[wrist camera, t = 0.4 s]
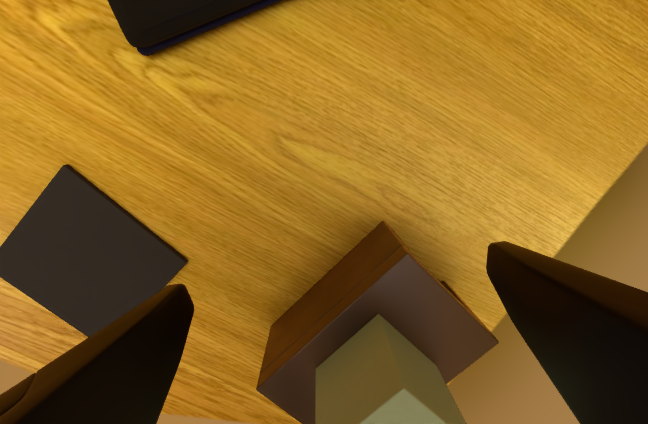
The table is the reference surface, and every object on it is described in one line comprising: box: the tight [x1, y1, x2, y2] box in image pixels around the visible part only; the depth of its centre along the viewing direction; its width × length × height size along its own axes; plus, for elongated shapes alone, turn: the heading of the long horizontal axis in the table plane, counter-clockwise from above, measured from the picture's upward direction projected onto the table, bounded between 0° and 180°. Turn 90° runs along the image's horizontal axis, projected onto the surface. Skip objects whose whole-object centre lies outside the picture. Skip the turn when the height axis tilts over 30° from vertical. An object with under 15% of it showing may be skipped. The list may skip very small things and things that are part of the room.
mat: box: [0, 165, 188, 337], centre depth 21 cm, size 10×10×1 cm
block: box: [315, 314, 466, 424], centre depth 15 cm, size 5×5×5 cm
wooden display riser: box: [256, 221, 499, 424], centre depth 20 cm, size 12×8×6 cm, turn 136°
